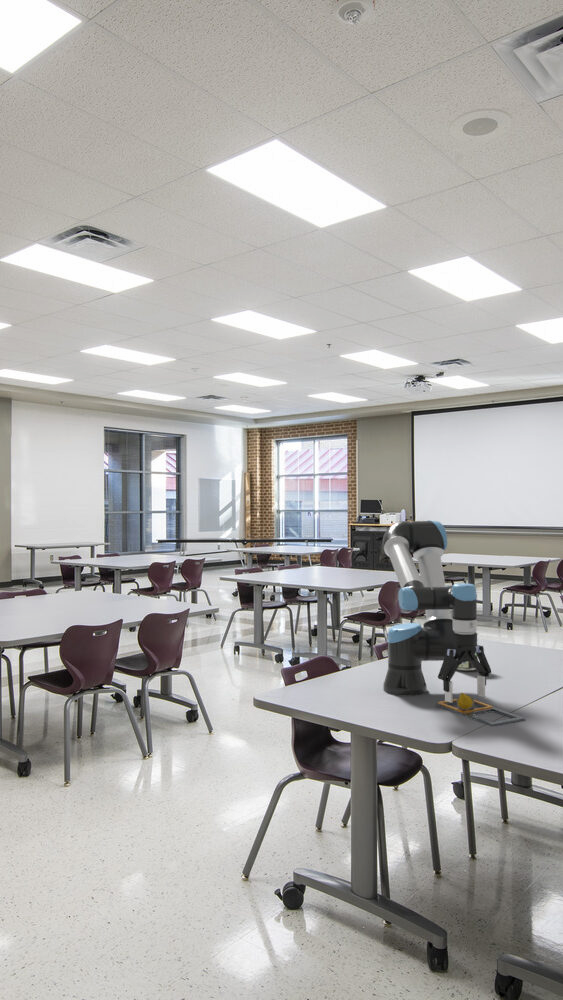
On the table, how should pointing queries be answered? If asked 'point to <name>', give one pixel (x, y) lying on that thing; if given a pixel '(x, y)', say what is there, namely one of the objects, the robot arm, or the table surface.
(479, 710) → the orange gray double frame
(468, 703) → the yellow cone
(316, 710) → the table surface
